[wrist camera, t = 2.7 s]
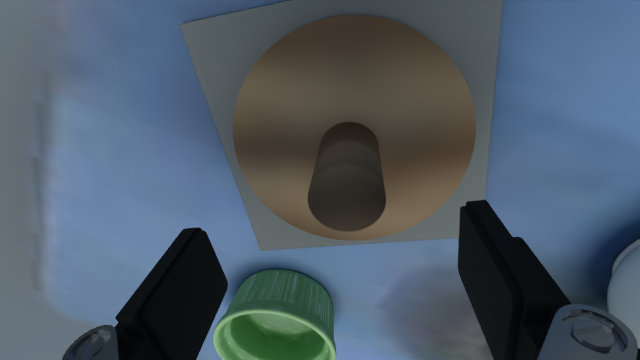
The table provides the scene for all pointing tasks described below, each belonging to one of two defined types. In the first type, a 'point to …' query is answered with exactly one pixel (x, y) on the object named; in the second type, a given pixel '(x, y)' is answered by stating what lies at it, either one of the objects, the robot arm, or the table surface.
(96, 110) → the table surface
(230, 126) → the slate mat
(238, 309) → the ramekin
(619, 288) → the lidded jar
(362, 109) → the walnut lid
